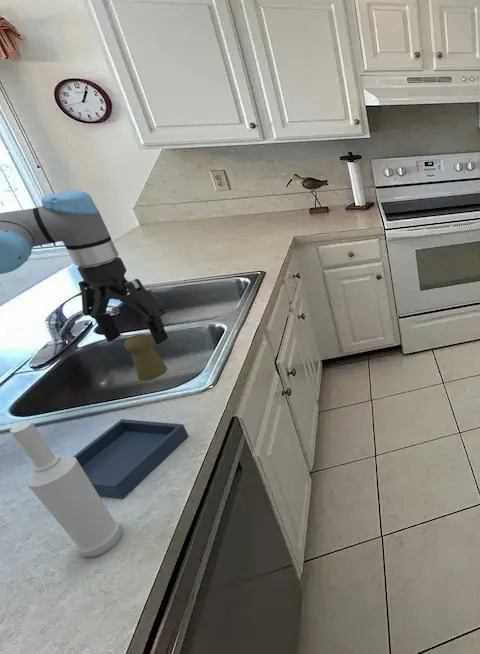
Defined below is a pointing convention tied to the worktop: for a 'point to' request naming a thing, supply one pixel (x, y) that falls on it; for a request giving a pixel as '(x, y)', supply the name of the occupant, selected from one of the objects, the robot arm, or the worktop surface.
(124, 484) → the tray
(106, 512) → the bottle
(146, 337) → the cork
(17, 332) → the worktop surface
